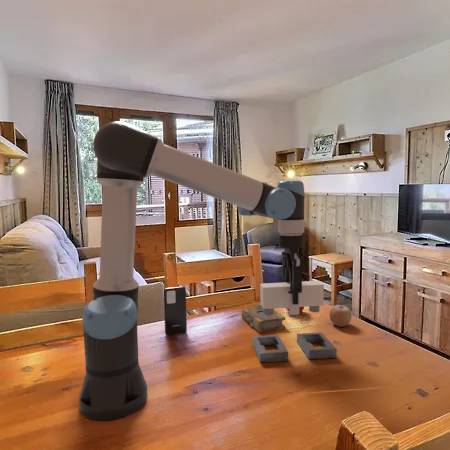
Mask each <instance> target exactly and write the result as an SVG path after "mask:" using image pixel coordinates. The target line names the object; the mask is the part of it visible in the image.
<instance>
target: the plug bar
mask: <svg viewBox="0 0 450 450" xmlns="http://www.w3.org/2000/svg"><path fill="white" fill-rule="evenodd" d="M324 287H325V285H324V283H322V282H321V281H319V280H308V281H307V280H306V281H303V280H302V293H299V307H304V308H305V307H308V308H309V309H308V310H309V312H311V313H319V312H320V306H321V307H324V301H325V300H324V296H325V295H324V291H325V288H324ZM259 291H260V293H259V294H260V295H259V300H260V303H259V304H261V306H262V307H263V309H264V314H265V315H273V314H274V311H275V309H285V308H289V307H290V302H289V293H288V291H291V290H290V282H284V283H283V282H269V283H268V282H267V283H266V282H264V283H260V284H259Z"/></svg>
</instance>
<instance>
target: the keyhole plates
mask: <svg viewBox="0 0 450 450" xmlns="http://www.w3.org/2000/svg"><path fill="white" fill-rule="evenodd" d="M296 343H297V344H298V346H299V347H300V348H301V350H302V351H303V352H304V354H305V355H306V357H307V358H308V359H309V360H316V359H330V358H332V359H333V358H337V357H338V356H337V352H338V351H337V350H338V349H337V348H336V346H334V344H333V343H332V342H331V341H330V340H329V339H328V338H327V336H325V334H324V333H323V332H320V331H319V332H306V333H296ZM312 343H319V344H320V345H321V346H322V347H314V345H313V344H312ZM252 345H253V348H254V350H255V353H256V355H257V357H258V361H259V362H260V363H265V362H266V363H268V362H285V361H287V362H288V361H289V351H288V349H287V347H286V346H285V344H284V342H283V341H282V339H281V337H280V336H279V334H271V335H270V334H268V335H254V336H253V335H252ZM270 345H272V346H273V345H275V347H276V350H266V347H265V346H270Z"/></svg>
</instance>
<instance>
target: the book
mask: <svg viewBox="0 0 450 450" xmlns="http://www.w3.org/2000/svg"><path fill="white" fill-rule="evenodd" d="M240 314H241V318H242V319H243V320H244V321H246V323H248V325H249V326H250V327H251V328H252V329H253V328H254V330H256V331H257V332H258V333H262V332H267V331H272V330H282V329H286V326H285V324H283V321H286V317H285V316H284V315H282V314H281V313H278V312H276V311H275V310H274V314H273V315H265V314H264V309H263V307H262V306H261V304H260V303H257V304H256V305H252V306H251V307H247V308H242V310H241V313H240Z"/></svg>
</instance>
